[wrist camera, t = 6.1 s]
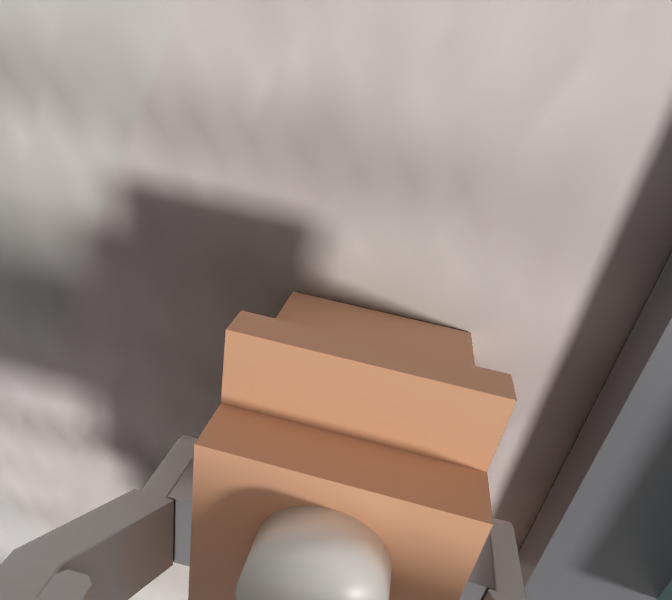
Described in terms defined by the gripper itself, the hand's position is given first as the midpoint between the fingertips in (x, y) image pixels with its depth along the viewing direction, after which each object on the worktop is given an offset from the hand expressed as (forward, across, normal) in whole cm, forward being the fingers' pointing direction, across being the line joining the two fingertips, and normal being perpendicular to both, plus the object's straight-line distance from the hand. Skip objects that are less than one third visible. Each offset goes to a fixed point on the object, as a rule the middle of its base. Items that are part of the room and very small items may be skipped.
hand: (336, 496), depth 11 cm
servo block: (+2, 0, 0) cm, 2 cm away
